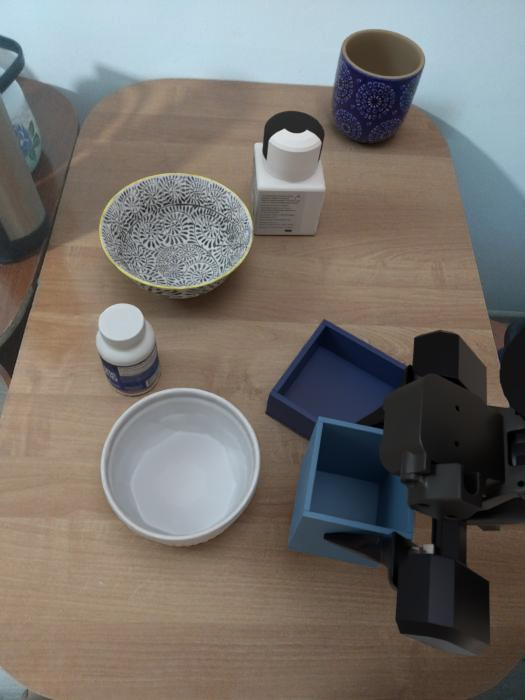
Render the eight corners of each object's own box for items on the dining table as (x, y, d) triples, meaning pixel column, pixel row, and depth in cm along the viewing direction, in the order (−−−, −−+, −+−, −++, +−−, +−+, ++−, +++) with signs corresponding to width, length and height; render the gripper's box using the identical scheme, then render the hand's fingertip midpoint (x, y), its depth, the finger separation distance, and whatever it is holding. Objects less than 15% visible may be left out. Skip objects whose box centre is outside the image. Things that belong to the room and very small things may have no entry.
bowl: (275, 261, 67) (282, 215, 60) (194, 354, 59) (192, 314, 53) (169, 201, 70) (164, 152, 64) (80, 282, 63) (65, 236, 56)
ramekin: (106, 431, 54) (92, 400, 48) (239, 406, 56) (242, 374, 50) (121, 573, 48) (107, 558, 42) (270, 539, 50) (278, 519, 44)
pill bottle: (102, 359, 58) (83, 304, 50) (153, 345, 59) (143, 290, 51) (114, 404, 56) (96, 354, 47) (167, 388, 57) (159, 338, 48)
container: (250, 190, 72) (257, 100, 61) (309, 191, 73) (327, 102, 62) (253, 235, 68) (261, 148, 57) (315, 236, 69) (335, 150, 58)
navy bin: (402, 391, 59) (416, 370, 55) (356, 470, 54) (367, 454, 50) (317, 341, 61) (324, 318, 57) (265, 413, 56) (268, 393, 52)
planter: (315, 108, 82) (328, 32, 72) (382, 99, 84) (404, 24, 75) (342, 158, 77) (360, 83, 67) (413, 147, 79) (441, 73, 69)
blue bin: (383, 482, 47) (419, 436, 38) (375, 568, 43) (413, 540, 35) (300, 464, 47) (318, 415, 39) (286, 549, 44) (302, 516, 35)
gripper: (510, 244, 30) (286, 319, 40) (527, 624, 20) (226, 597, 30) (576, 350, 36) (369, 391, 46) (613, 676, 27) (342, 640, 37)
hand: (333, 486), depth 40 cm, fingers closed on blue bin, 7 cm apart
